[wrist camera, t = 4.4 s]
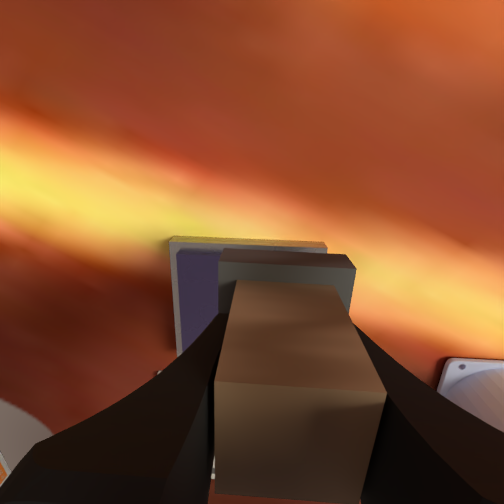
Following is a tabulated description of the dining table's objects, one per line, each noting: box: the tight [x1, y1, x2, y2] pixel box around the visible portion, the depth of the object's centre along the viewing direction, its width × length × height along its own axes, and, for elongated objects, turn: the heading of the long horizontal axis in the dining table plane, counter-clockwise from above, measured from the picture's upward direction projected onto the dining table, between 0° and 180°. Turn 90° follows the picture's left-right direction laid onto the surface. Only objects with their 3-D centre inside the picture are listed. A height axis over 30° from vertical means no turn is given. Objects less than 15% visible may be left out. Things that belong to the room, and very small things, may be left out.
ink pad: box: [169, 236, 327, 357], centre depth 20 cm, size 10×9×2 cm
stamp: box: [214, 248, 387, 504], centre depth 10 cm, size 5×5×6 cm
